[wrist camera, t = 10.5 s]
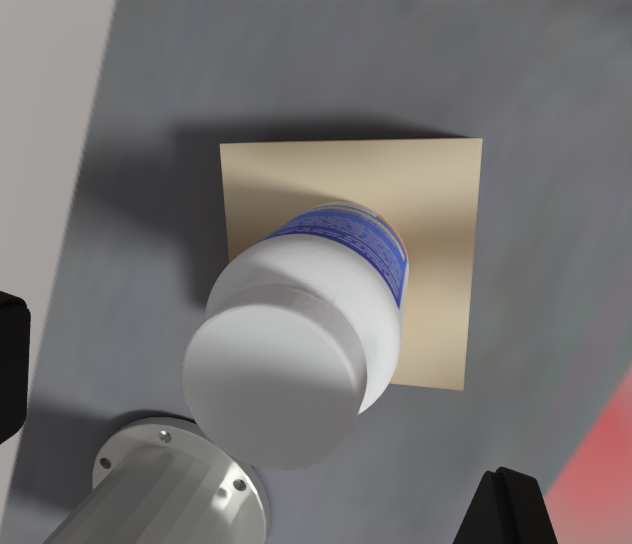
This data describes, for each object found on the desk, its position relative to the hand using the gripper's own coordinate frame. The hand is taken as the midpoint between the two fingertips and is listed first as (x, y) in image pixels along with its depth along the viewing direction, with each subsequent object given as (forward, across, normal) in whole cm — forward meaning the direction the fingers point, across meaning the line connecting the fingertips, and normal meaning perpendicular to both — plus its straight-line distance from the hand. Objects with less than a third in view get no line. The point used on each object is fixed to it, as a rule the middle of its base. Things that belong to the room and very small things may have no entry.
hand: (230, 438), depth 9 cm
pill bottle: (+11, 0, -1) cm, 11 cm away
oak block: (+16, 0, -1) cm, 16 cm away
